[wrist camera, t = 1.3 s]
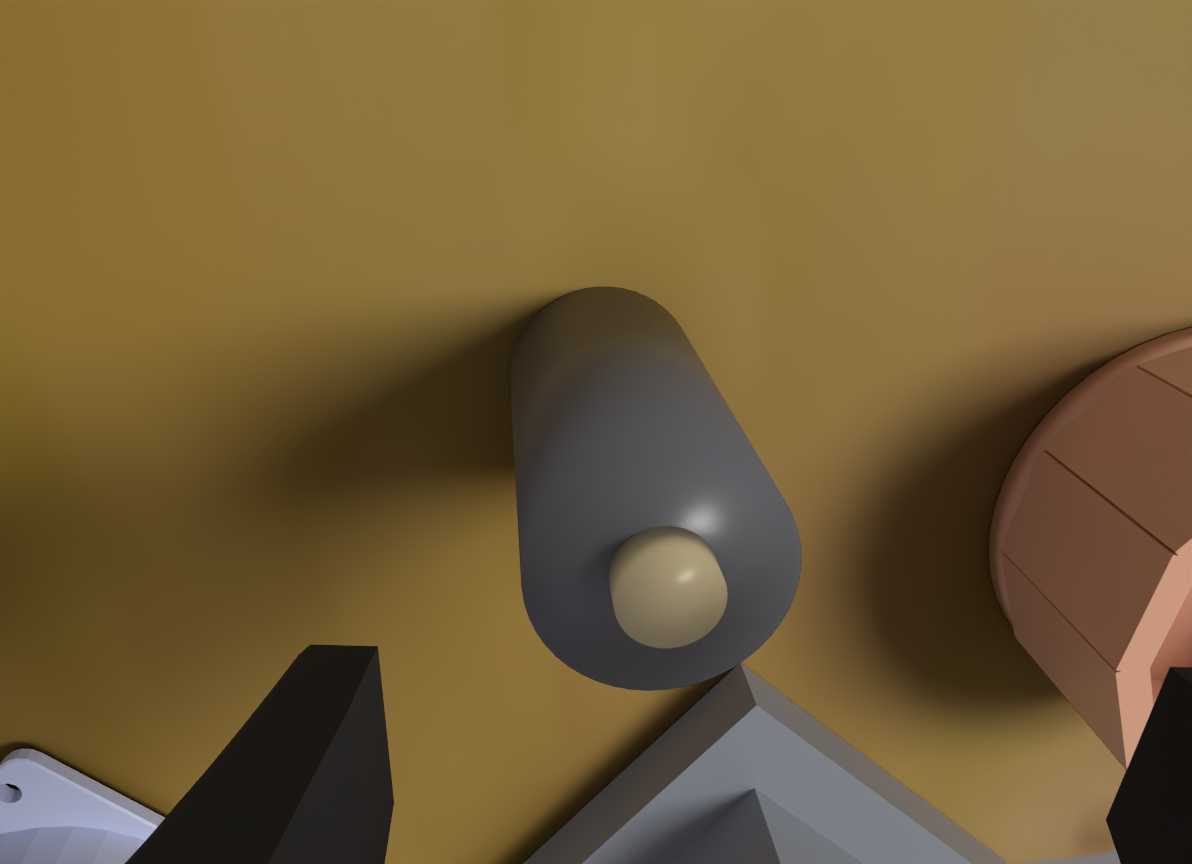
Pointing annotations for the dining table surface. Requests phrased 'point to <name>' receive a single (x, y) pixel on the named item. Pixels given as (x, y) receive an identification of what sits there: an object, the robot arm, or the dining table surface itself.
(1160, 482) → the cup
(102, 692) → the dining table surface
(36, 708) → the dining table surface
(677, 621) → the battery cell
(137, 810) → the robot arm
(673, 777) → the checker housing
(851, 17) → the dining table surface
